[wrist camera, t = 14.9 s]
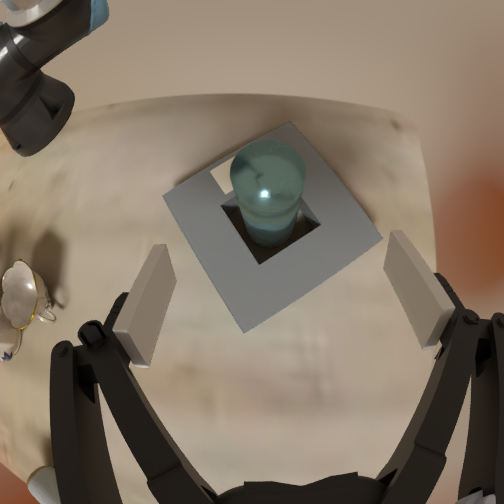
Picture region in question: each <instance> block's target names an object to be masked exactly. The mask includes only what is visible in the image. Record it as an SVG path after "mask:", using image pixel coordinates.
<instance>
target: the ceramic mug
mask: <svg viewBox="0 0 504 504" xmlns="http://www.w3.org/2000/svg"><path fill="white" fill-rule="evenodd" d="M27 487H28V489H29V490H30V492H31V493H32V495H33V496H34V497H35V498H36V499H37V500H38V501H39V502H40V503H41V504H61V502H60V497H59V492H58V487H57V481H56V475H55V468H53V467H51V466H42V467H39V468H38V469H36V470H35V471H33V472H32V473H31V475H30V476H29V478H28V480H27Z"/></svg>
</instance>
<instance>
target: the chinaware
mask: <svg viewBox="0 0 504 504" xmlns="http://www.w3.org/2000/svg"><path fill="white" fill-rule="evenodd" d="M2 289H3V292H4V293H3V295H2V297H1V296H0V364H1V363H2V362H5V361H9V360H11V359H12V357H13V355H15V354H16V353H17V352H18V350H19V348H20V345H21V336H22V334H21V329H23V328H25V327H26V326H27V325H29V324H30V323H31V322H34V321H36V320H37V319H38V318H39V319H40V320H42V321H43V322H45V323H49V324H53V323H55V322H56V316H55V315H54V314H53V313H51V312H50V311H51V310H52V307H51V306H50V305H48V302H49V300H50V299H51V298H50V297H49V294H48V291H47V287H46V286H45V284H44V282H43V280H42V278H41V277H40V276H39V275H38V274H37V273H36V272H35V271H33V270H32V269H31V267H30V266H29V265H28V264H27V263H26V262H25V261H23V260H22V259H18V260H17V261H15V262H14V265H13V267H11V268H9V269H7V270H6V271H5V273H4V274H3V277H2ZM47 305H48V306H47ZM44 310H46V312H47V313H48V314H49V315H50V316H52V317H53V319H54V320H49V319H47V318H44V317H42V316H41V315H42V314H43V312H44Z"/></svg>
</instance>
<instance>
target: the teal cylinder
mask: <svg viewBox="0 0 504 504" xmlns="http://www.w3.org/2000/svg"><path fill="white" fill-rule="evenodd" d="M305 178H306V169H305V165H304V162H303V160H302V158H301V156H300V155H299V154H298V153H297V152H296V150H294V149H293V148H292V147H290V146H289V145H287V144H285V143H282V142H279V141H274V140H262V141H257V142H254V143H251V144H249V145H247V146H246V147H244V148H243V149H242V150H240V151H239V152H238V153H237V155H236V156H235V157H234V159H233V161H232V164H231V167H230V180H231V183H232V186H233V189H234V192H235V195H236V198H237V201H238V204H239V207H240V210H241V213H242V216H243V219H244V222H245V225H246V228H247V231H248V234H249V236H250V237H251V239H252V240H253V241H254V242H255V243H257V244H258V245H261V246H263V247H269V248H272V247H277V246H280V245H282V244H284V243H285V242H286V241H287V240H288V239H289V238H290V237H291V235H292V233H293V230H294V226H295V222H296V217H297V213H298V209H299V205H300V200H301V196H302V191H303V187H304V182H305Z"/></svg>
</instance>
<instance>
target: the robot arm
mask: <svg viewBox="0 0 504 504" xmlns="http://www.w3.org/2000/svg"><path fill="white" fill-rule="evenodd" d="M0 2H1V3H3V4H4V5H5V6H6V7H7V8H8V10H7V13H6V23H5V24H3V23H2V22H0V128H1V130H2V131H3V133H4V135H5V137H6V139H7V140H8V142H9V144H10V145H11V147H12V149H13V150H14V151H16V152H17V153H18V154H20V155H21V156H24V157H27V156H31V155H33V154H35V153H37V152H39V151H40V150H41V149H43V148H44V147H45V146H46V145H47V144H48V143H49V142H50V141H51V140H52V139H53V138H54V137H55V136H56V135H57V134H58V132H59V131H60V130H61V128H62V127H63V125H64V124H65V122H66V121H67V119H68V117H69V115H70V113H71V111H72V108H73V106H74V101H75V96H74V93H73V91H72V90H71V89H70V88H69V87H68V86H67V85H66V84H65V83H63V82H61V81H59V80H56V79H54V78H52V77H50V76H48V75H46V74H44V73H43V72H42V71H41V70H40V68H41V67H42V66H44V65H45V64H46V63H48V62H49V61H50V60H52V59H53V58H54V57H56V56H57V55H59V54H60V53H61V52H63V51H64V50H66V49H67V48H69V47H70V46H72V45H73V44H75V43H76V42H77V41H79V40H81V39H82V38H84V37H85V36H88V35H89V34H90V33H91V32H92V31H94V30H95V29H97V28H98V27H100V26H101V25H103V24H104V23H105V22H106V21H107V20H108V18H109V7H108V3H107V0H0ZM383 269H384V271H385V273H386V275H387V277H388V278H389V280H390V282H391V284H392V286H393V288H394V290H395V292H396V294H397V296H398V298H399V300H400V302H401V304H402V306H403V308H404V310H405V312H406V314H407V316H408V319H409V321H410V323H411V325H412V327H413V329H414V332H415V334H416V336H417V338H418V341H419V343H420V345H421V347H422V350H426V349H430V348H435V346H436V345H437V343H438V341H439V339H440V342H441V344H442V346H441V348H440V350H439V352H438V354H437V355H436V357H435V358H434V359H436V362H435V365H434V368H433V370H432V373H431V375H430V378H429V381H428V383H427V385H426V388H425V390H424V393H423V395H422V397H421V400H420V402H419V404H418V406H417V409H416V411H415V413H414V415H413V417H412V419H411V421H410V423H409V425H408V427H407V429H406V431H405V433H404V435H403V437H402V439H401V441H400V443H399V444H398V446H397V448H396V450H395V452H394V453H393V455H392V457H391V458H390V460H389V462H388V463H387V464H386V466H385V467H384V468H383V469H382V470H381V472H380V473H379V474H378V476H377V477H376V479H373V478H369V477H364V476H358V472H353V473H347V474H342V475H335V476H330V477H327V478H324V479H322V480H319V481H316V482H313V483H310V484H307V485H304V486H298V485H291V484H285V483H279V482H273V481H265V482H244V485H243V486H239V487H235V488H232V489H230V490H228V491H226V492H224V493H222V494H220V495H219V496H218V495H217V493H216V492H215V491H214V490H213V489H212V488H211V487H210V485H209V484H208V483H207V482H206V481H205V480H204V479H203V478H202V477H201V476H200V475H199V473H198V472H197V471H196V470H195V468H194V467H193V466H192V465H191V463H190V462H189V461H188V459H187V458H186V457H185V455H184V454H183V453H182V451H181V450H180V448H179V447H178V446H177V444H176V443H175V441H174V440H173V438H172V437H171V436H170V434H169V433H168V431H167V430H166V428H165V427H164V425H163V424H162V422H161V421H160V419H159V417H158V416H157V414H156V413H155V411H154V409H153V408H152V406H151V405H150V403H149V401H148V400H147V398H146V396H145V395H144V393H143V391H142V389H141V388H140V386H139V384H138V382H137V380H136V379H135V377H134V375H133V373H132V371H131V369H130V368H129V367H128V366H129V363H130V360H131V361H132V363H133V364H134V366H135V367H143V368H149V366H150V363H151V359H152V356H153V353H154V349H155V346H156V343H157V340H158V336H159V333H160V330H161V327H162V324H163V320H164V317H165V314H166V311H167V308H168V305H169V302H170V299H171V296H172V293H173V290H174V287H175V284H176V282H177V280H176V277H175V274H174V270H173V267H172V263H171V260H170V256H169V253H168V249H167V246H166V244H158V245H154V246H153V248H152V250H151V252H150V253H149V255H148V257H147V259H146V261H145V263H144V265H143V267H142V269H141V271H140V272H139V274H138V276H137V278H136V280H135V282H134V284H133V286H132V288H131V290H130V292H123V293H122V294H121V295H120V296H119V297H118V298H117V299H116V301H115V303H114V305H113V308H111V310H110V313H109V315H108V317H107V319H106V321H105V323H104V325H102V324H101V322H100V321H97V320H91V321H88V322H86V323H85V324H83V325H82V326H81V327H80V329H79V331H78V338H79V340H80V341H81V342H82V344H83V345H80V346H75V347H74V346H73V345H72V343H71V342H70V341H67V340H65V341H61V342H59V343H57V344H56V345H55V346H54V348H53V349H52V353H51V366H50V427H51V442H52V452H53V461H54V468H55V475H56V481H57V487H58V492H59V497H60V502H61V504H123V503H122V500H121V497H120V494H119V490H118V487H117V483H116V480H115V476H114V472H113V468H112V464H111V460H110V456H109V451H108V447H107V442H106V437H105V432H104V426H103V420H102V414H101V407H100V400H99V393H98V384H97V383H99V385H100V388H101V390H102V393H103V395H104V397H105V400H106V402H107V404H108V406H109V408H110V411H111V413H112V415H113V417H114V419H115V421H116V423H117V425H118V427H119V429H120V431H121V433H122V435H123V437H124V439H125V441H126V443H127V445H128V447H129V448H130V450H131V452H132V454H133V456H134V457H135V459H136V461H137V462H138V464H139V466H140V467H141V469H142V471H143V472H144V474H145V476H146V478H147V485H148V487H149V489H150V491H151V492H152V494H153V495H154V497H155V498H156V500H157V501H158V503H159V504H425V503H426V502H427V500H428V498H429V496H430V495H431V493H432V491H433V489H434V487H435V485H436V483H437V481H438V479H439V477H440V475H441V473H442V471H443V469H444V466H445V464H446V459H447V458H446V456H445V452H446V449H447V446H448V444H449V442H450V439H451V436H452V434H453V431H454V428H455V426H456V423H457V420H458V417H459V414H460V411H461V408H462V405H463V402H464V398H465V395H466V391H467V387H468V384H469V380H470V376H471V405H470V420H469V429H468V437H467V445H466V452H465V458H464V463H463V469H462V474H461V479H460V484H459V491H458V501H457V502H456V503H455V504H504V314H502V313H495V314H493V316H492V318H491V320H488V319H487V320H486V319H480V318H479V316H478V315H477V314H476V313H475V312H474V311H472V310H469V309H465V307H464V306H463V304H462V303H461V301H460V300H459V298H458V297H457V295H456V293H455V292H453V289H452V288H451V286H450V285H449V283H448V282H447V280H446V279H445V278H444V277H443V276H442V275H440V274H439V273H433V272H432V271H431V269H430V268H429V266H428V265H427V264H426V262H425V261H424V259H423V258H422V257H421V255H420V254H419V253H418V251H417V250H416V248H415V247H414V246H413V244H412V243H411V242H410V240H409V239H408V238H407V237H406V235H405V234H404V233H403V231H402V230H396V231H391V232H390V237H389V243H388V248H387V253H386V258H385V263H384V267H383Z"/></svg>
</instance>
